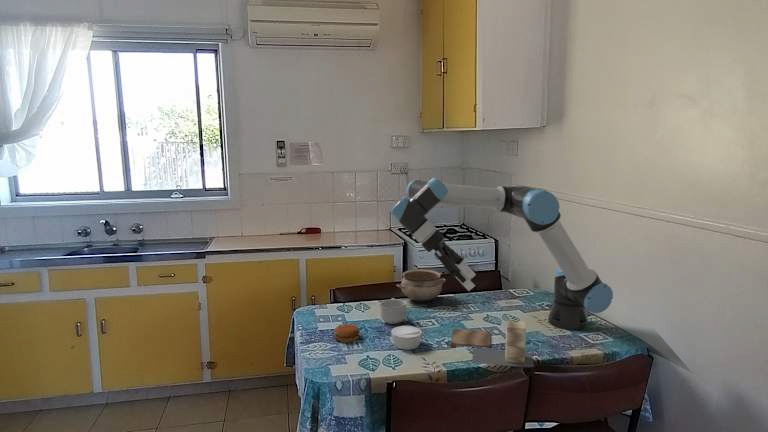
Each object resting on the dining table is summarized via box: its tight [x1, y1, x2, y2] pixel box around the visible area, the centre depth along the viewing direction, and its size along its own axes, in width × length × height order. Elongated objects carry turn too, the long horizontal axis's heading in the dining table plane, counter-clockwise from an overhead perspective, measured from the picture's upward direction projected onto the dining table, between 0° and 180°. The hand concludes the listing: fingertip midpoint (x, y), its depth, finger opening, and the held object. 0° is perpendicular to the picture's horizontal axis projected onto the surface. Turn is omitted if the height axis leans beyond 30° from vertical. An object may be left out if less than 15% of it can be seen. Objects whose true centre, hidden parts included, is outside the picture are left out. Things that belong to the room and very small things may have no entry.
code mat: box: [471, 348, 535, 368], centre depth 176 cm, size 20×12×1 cm, turn 79°
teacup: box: [379, 297, 407, 325], centre depth 214 cm, size 14×11×8 cm
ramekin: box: [390, 325, 423, 350], centre depth 189 cm, size 11×11×5 cm
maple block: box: [504, 320, 527, 363], centre depth 175 cm, size 6×6×12 cm
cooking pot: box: [396, 269, 447, 303], centre depth 239 cm, size 25×19×12 cm
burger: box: [333, 323, 360, 343], centre depth 196 cm, size 10×9×5 cm
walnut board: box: [450, 328, 491, 348], centre depth 193 cm, size 14×14×2 cm
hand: (472, 282), depth 174 cm, fingers open, 13 cm apart
